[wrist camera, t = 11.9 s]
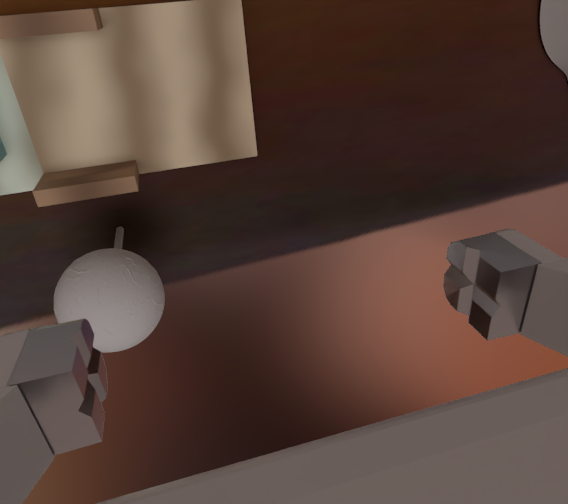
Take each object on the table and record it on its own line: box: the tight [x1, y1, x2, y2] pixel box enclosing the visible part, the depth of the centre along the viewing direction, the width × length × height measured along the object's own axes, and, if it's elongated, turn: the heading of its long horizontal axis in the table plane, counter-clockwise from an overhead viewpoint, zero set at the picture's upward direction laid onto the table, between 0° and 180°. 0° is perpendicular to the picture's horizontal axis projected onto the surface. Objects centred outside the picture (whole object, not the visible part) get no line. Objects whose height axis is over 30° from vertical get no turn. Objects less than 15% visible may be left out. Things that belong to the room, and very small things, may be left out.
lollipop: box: [54, 226, 165, 352], centre depth 34 cm, size 7×7×15 cm
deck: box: [0, 0, 257, 207], centre depth 31 cm, size 35×12×6 cm, turn 94°
